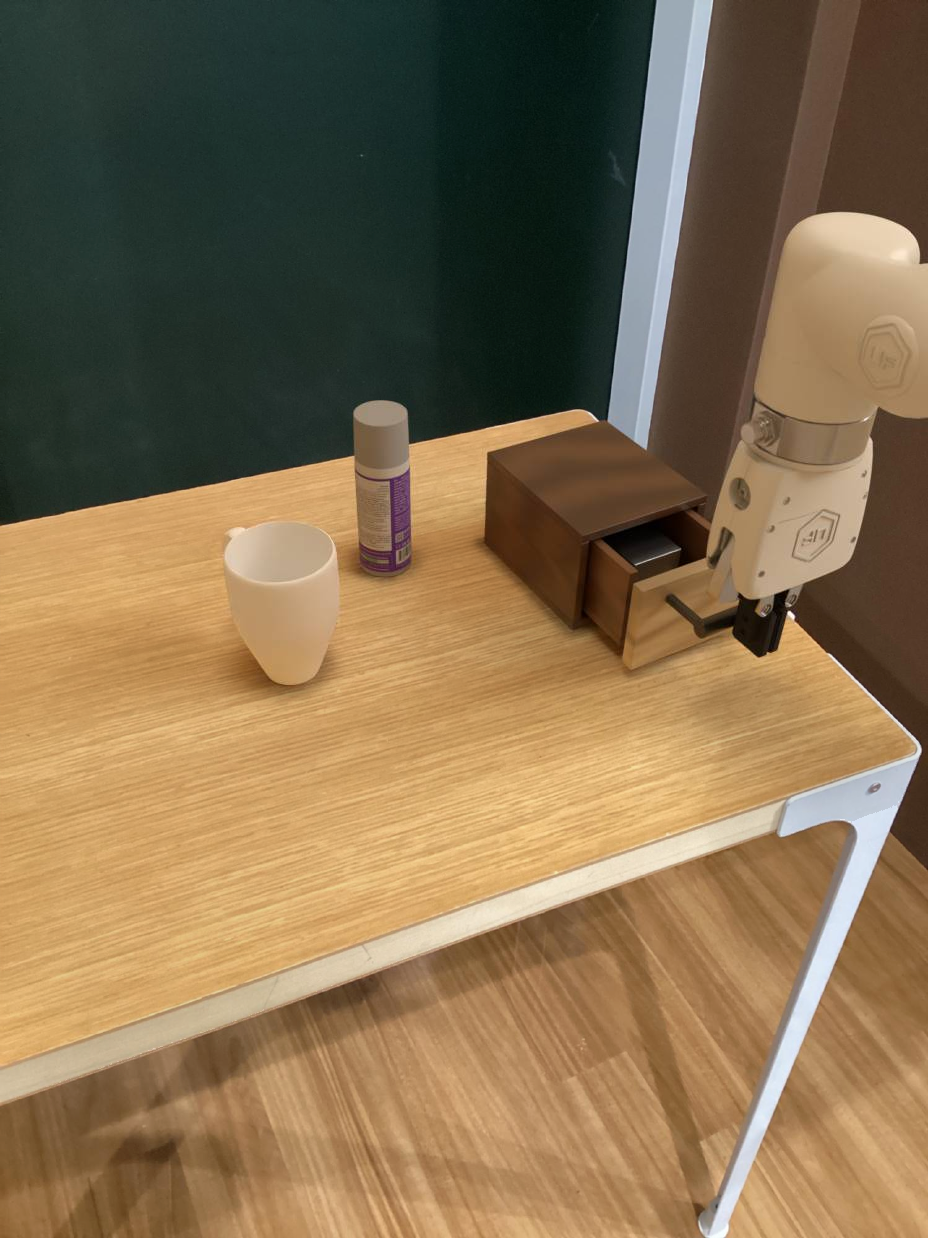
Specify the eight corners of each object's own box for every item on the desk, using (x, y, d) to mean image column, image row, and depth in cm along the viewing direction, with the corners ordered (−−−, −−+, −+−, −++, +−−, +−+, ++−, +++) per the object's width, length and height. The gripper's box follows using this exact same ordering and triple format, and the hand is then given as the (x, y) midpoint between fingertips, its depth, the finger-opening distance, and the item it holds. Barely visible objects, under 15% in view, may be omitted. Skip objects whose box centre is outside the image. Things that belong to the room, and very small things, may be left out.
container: (399, 542, 99) (395, 395, 90) (419, 569, 96) (418, 419, 86) (352, 554, 97) (343, 405, 88) (371, 582, 94) (364, 431, 85)
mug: (365, 672, 85) (359, 554, 78) (277, 719, 81) (262, 599, 73) (281, 600, 92) (268, 487, 85) (196, 640, 88) (175, 524, 80)
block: (646, 519, 90) (681, 548, 87) (639, 565, 93) (673, 595, 90) (599, 535, 88) (634, 565, 85) (594, 581, 92) (627, 612, 88)
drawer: (782, 660, 86) (803, 582, 81) (669, 708, 81) (684, 628, 76) (642, 544, 98) (653, 470, 93) (538, 580, 93) (543, 504, 88)
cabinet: (690, 587, 94) (707, 494, 88) (572, 630, 89) (582, 535, 83) (594, 507, 104) (604, 419, 98) (483, 542, 99) (487, 452, 93)
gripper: (759, 479, 62) (707, 708, 73) (937, 420, 68) (864, 641, 79) (677, 423, 67) (641, 646, 78) (850, 373, 73) (793, 587, 84)
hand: (753, 643), depth 79 cm, fingers closed
